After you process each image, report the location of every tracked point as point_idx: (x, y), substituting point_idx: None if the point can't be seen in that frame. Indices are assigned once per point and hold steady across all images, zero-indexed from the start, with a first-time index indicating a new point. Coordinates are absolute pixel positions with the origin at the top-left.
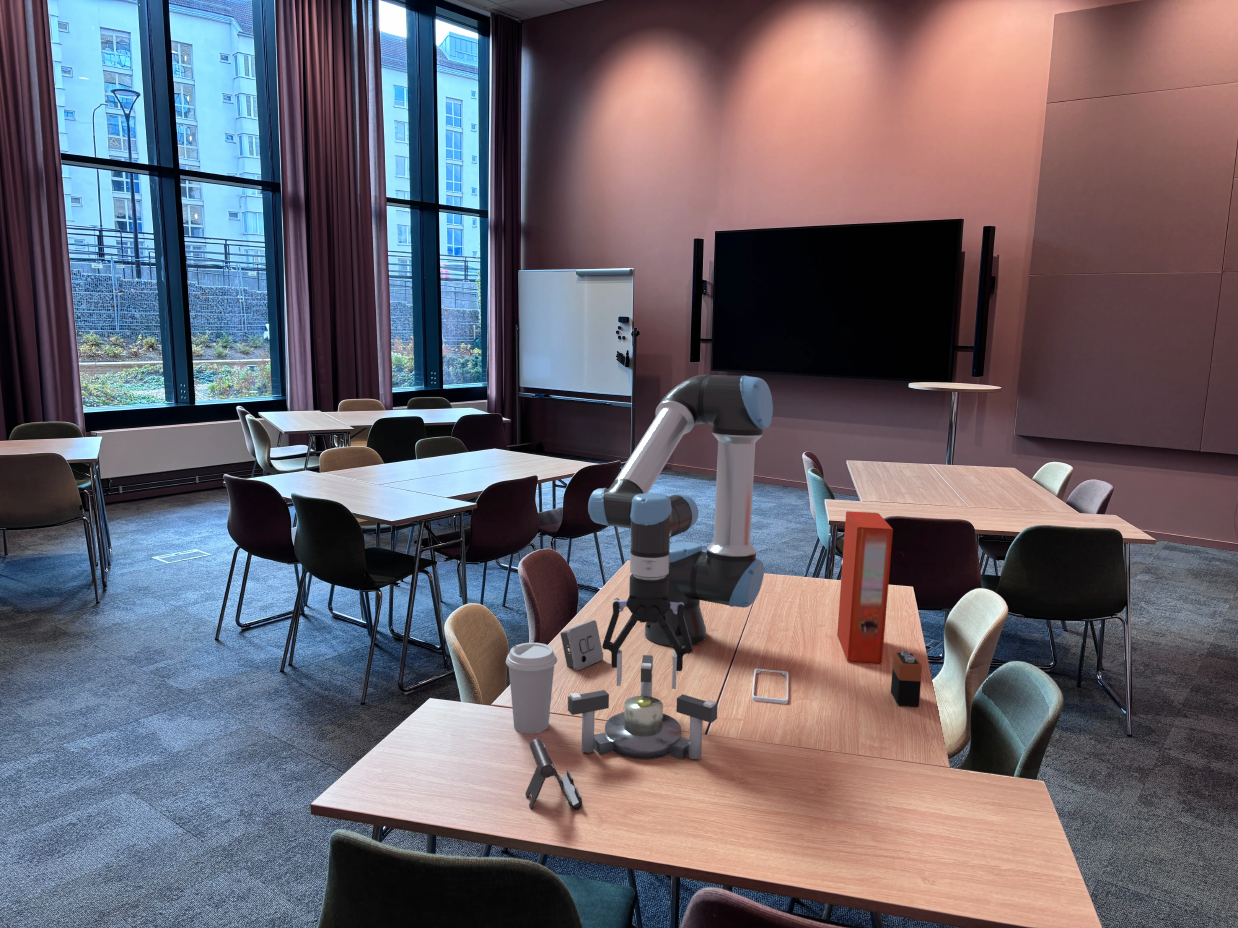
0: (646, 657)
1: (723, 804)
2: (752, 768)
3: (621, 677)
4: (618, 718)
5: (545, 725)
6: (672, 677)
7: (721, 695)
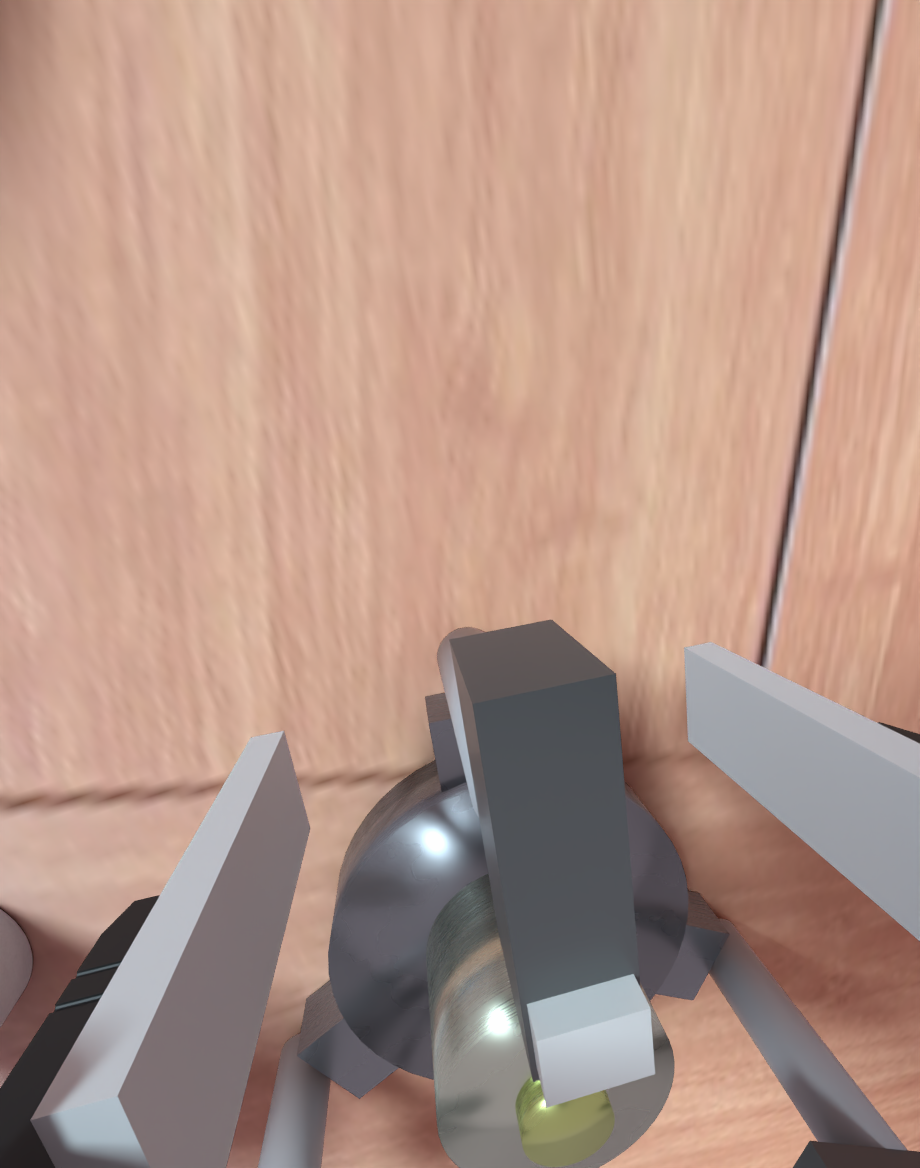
0: (538, 766)
1: (785, 1106)
2: (884, 916)
3: (279, 754)
4: (377, 911)
5: (14, 995)
6: (754, 797)
7: (832, 309)
